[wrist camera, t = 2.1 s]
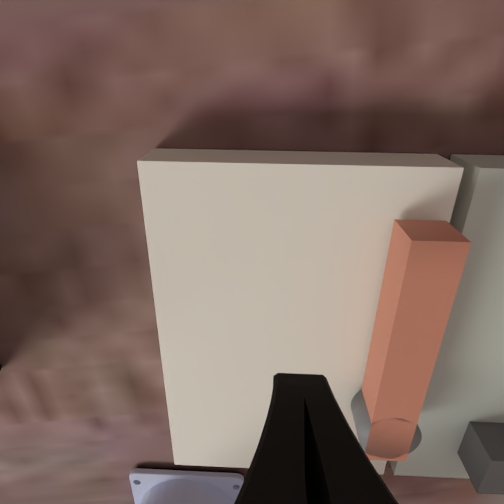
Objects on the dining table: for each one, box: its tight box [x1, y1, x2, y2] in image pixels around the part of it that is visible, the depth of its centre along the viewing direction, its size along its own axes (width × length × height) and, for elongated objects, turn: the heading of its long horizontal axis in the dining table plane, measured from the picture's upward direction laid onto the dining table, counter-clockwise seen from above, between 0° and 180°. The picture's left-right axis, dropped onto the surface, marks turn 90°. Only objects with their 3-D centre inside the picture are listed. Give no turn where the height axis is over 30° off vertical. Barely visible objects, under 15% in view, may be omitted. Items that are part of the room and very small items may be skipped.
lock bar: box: [351, 219, 471, 461], centre depth 16 cm, size 12×3×2 cm, turn 179°
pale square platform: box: [137, 148, 504, 494], centre depth 18 cm, size 18×24×5 cm
